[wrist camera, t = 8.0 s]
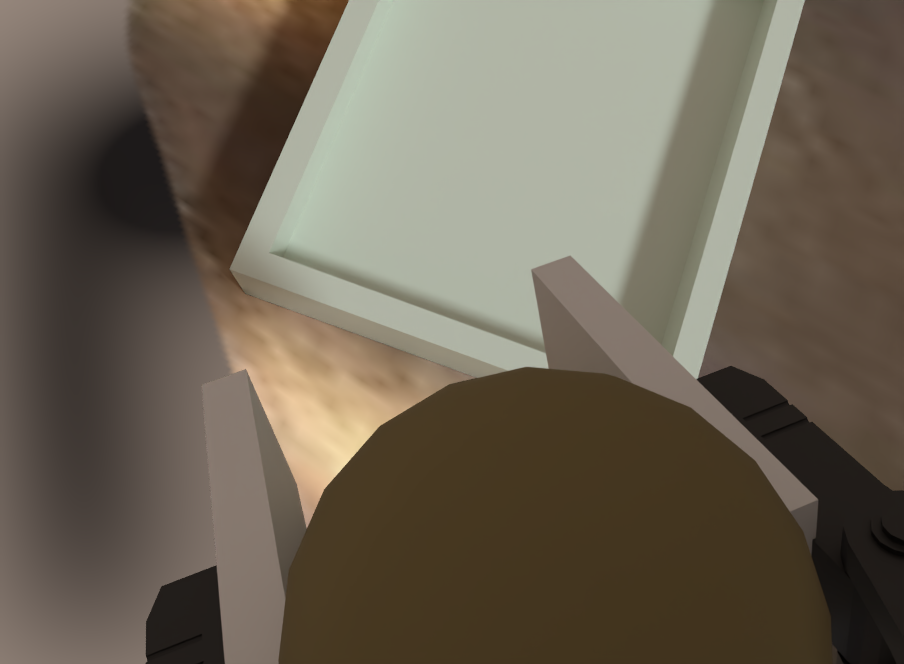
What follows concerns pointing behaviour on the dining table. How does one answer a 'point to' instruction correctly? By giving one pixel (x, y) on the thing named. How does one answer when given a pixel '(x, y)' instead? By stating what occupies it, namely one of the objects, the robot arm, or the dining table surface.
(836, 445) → the robot arm
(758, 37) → the tray
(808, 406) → the dining table surface
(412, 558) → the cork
